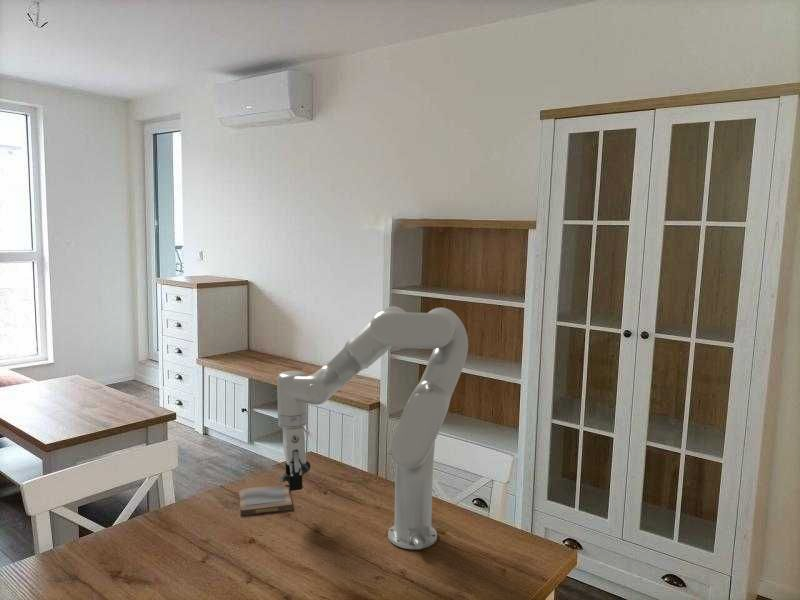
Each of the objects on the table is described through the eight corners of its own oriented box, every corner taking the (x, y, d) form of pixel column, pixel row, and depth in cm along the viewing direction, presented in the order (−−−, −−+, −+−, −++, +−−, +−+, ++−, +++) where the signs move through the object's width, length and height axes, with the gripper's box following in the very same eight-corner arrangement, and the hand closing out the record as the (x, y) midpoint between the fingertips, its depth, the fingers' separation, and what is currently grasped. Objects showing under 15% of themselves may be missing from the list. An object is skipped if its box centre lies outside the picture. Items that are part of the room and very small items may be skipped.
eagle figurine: (310, 489, 152) (317, 470, 161) (294, 469, 151) (301, 451, 159) (287, 503, 154) (295, 483, 162) (271, 483, 152) (280, 464, 161)
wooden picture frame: (292, 510, 164) (292, 504, 164) (240, 516, 160) (240, 510, 160) (286, 488, 178) (286, 483, 178) (239, 493, 174) (239, 488, 174)
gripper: (311, 427, 146) (313, 494, 148) (302, 408, 163) (303, 468, 165) (281, 430, 144) (282, 498, 146) (275, 410, 161) (276, 472, 162)
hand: (293, 482), depth 155 cm, fingers closed on eagle figurine, 8 cm apart
